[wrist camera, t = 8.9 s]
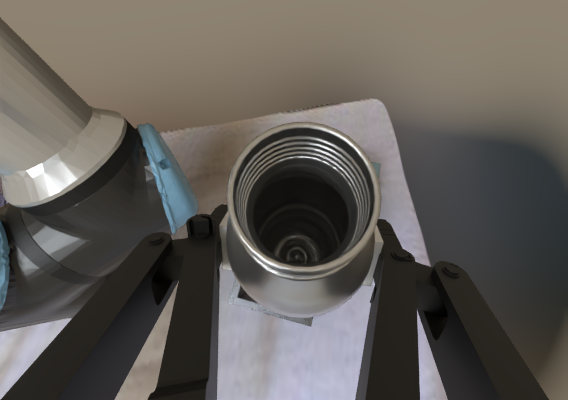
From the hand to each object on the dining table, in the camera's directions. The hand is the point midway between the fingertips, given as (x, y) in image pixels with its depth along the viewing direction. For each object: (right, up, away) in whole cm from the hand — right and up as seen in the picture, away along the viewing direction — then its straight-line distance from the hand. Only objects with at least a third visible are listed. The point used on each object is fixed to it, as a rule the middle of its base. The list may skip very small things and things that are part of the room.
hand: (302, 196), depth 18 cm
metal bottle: (0, -6, +7) cm, 9 cm away
